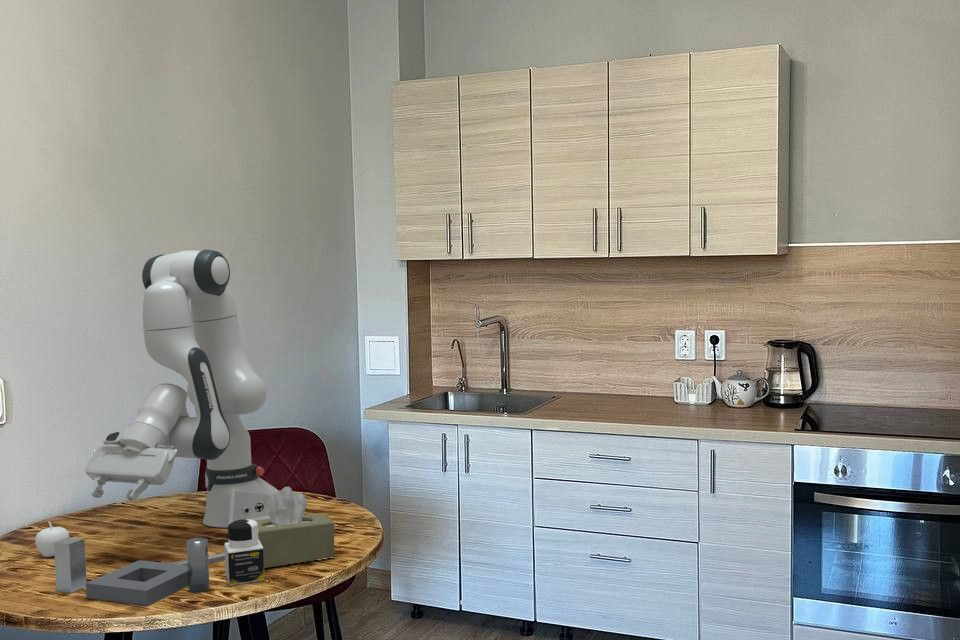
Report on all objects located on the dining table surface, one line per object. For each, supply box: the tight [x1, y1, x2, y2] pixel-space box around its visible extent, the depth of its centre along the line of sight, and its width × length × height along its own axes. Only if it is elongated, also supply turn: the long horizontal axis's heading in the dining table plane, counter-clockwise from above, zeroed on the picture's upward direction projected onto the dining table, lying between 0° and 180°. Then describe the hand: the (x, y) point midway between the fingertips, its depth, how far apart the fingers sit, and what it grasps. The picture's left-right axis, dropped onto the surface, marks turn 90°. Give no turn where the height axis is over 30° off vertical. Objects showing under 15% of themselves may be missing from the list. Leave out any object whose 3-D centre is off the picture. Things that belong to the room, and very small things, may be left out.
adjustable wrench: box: [169, 552, 225, 565], centre depth 201 cm, size 25×6×2 cm, turn 116°
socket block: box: [85, 559, 189, 607], centre depth 183 cm, size 15×15×3 cm
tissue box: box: [254, 486, 335, 569], centre depth 200 cm, size 19×10×16 cm, turn 116°
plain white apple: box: [34, 520, 70, 558], centre depth 208 cm, size 7×7×8 cm
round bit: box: [186, 537, 210, 594], centre depth 182 cm, size 4×4×10 cm
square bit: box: [54, 536, 87, 594], centre depth 185 cm, size 4×4×10 cm
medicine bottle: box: [224, 519, 266, 586], centre depth 188 cm, size 7×7×12 cm
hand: (112, 497), depth 195 cm, fingers open, 8 cm apart
